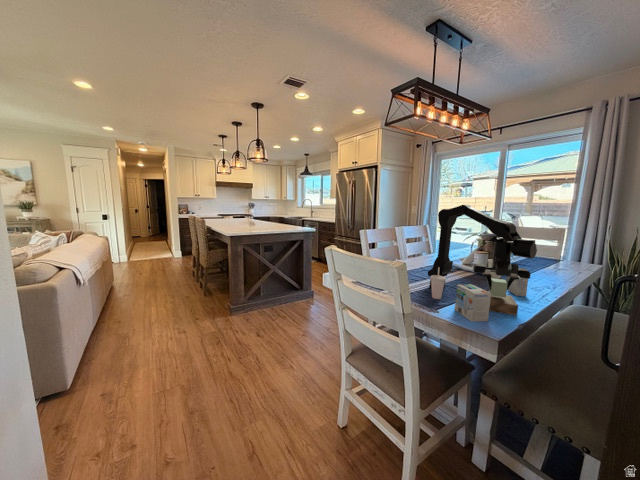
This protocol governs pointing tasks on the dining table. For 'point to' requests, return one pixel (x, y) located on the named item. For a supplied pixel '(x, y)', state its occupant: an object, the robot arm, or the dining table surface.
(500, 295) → the sage block
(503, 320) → the dining table surface
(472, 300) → the light bulb box
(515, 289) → the medicine box
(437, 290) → the smoothie
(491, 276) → the dixie cup
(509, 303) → the walnut riser block
